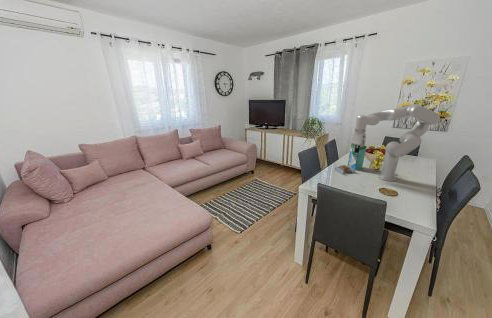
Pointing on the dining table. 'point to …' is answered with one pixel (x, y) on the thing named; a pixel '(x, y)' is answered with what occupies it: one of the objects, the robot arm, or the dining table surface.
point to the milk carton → (356, 157)
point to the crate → (344, 168)
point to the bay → (343, 171)
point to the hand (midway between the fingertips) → (356, 152)
